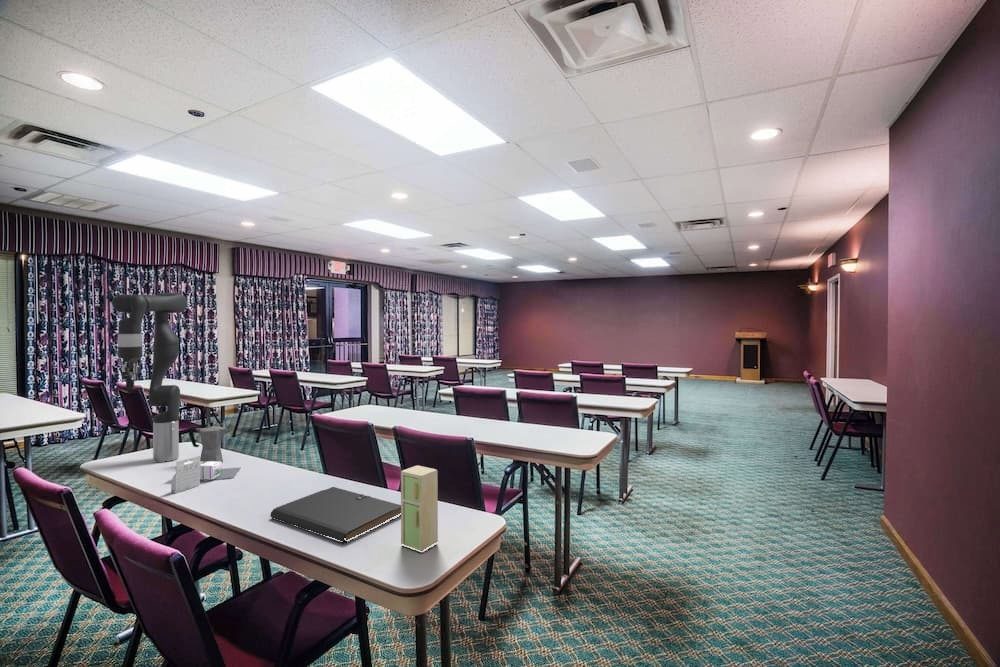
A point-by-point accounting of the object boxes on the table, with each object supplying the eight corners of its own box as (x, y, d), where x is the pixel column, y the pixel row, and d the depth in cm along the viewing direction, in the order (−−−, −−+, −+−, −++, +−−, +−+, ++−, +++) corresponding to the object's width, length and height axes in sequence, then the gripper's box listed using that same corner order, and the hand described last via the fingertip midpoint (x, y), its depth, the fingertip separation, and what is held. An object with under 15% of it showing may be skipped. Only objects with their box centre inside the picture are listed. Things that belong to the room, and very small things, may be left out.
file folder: (403, 504, 149) (343, 533, 128) (403, 516, 149) (343, 548, 128) (333, 485, 166) (270, 508, 145) (333, 496, 166) (270, 521, 145)
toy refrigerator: (398, 547, 127) (398, 471, 127) (416, 537, 133) (417, 464, 133) (419, 555, 123) (420, 476, 122) (437, 545, 129) (438, 469, 128)
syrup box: (175, 479, 179) (212, 480, 179) (175, 464, 179) (212, 465, 179) (185, 474, 185) (221, 475, 185) (185, 460, 185) (221, 461, 185)
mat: (179, 482, 177) (179, 481, 177) (191, 472, 190) (191, 471, 190) (233, 478, 183) (233, 477, 183) (240, 468, 196) (240, 467, 196)
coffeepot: (231, 459, 209) (231, 419, 209) (224, 465, 200) (224, 423, 200) (193, 461, 205) (193, 420, 205) (183, 467, 196) (184, 425, 196)
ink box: (170, 493, 166) (170, 461, 166) (195, 484, 175) (195, 454, 175) (175, 494, 165) (175, 462, 165) (200, 485, 174) (200, 455, 174)
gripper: (134, 346, 177) (134, 391, 177) (148, 344, 189) (148, 387, 190) (110, 346, 174) (110, 392, 175) (126, 344, 187) (126, 387, 187)
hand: (130, 389), depth 182 cm, fingers closed
